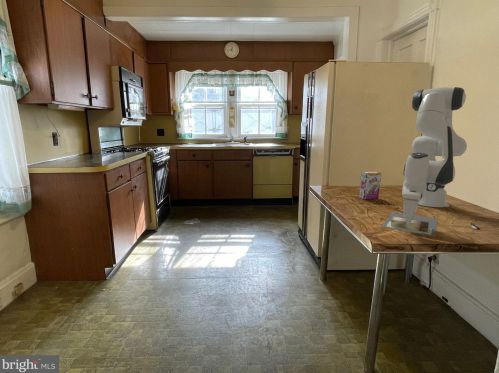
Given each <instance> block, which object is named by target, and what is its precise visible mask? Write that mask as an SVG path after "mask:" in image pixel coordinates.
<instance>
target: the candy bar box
mask: <svg viewBox="0 0 499 373" xmlns="http://www.w3.org/2000/svg"><path fill="white" fill-rule="evenodd" d="M360 177H361V178H360V183H359V193H358V194H359V195H358V198H359V199H361V200H364V201H365V200H376V199H379V197H380V196H379V195H380V188H381V180H382V172H379V171H361V176H360Z"/></svg>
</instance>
